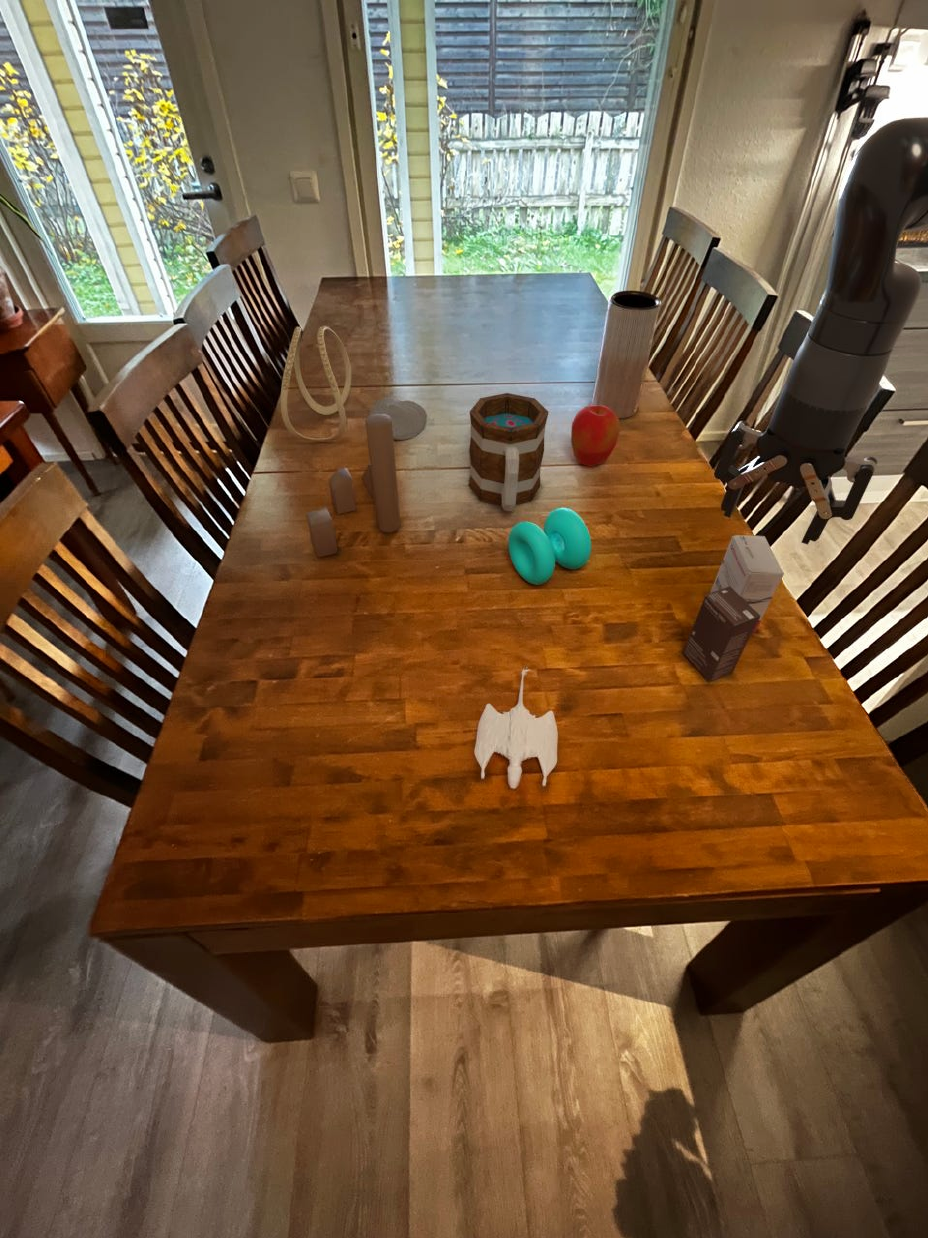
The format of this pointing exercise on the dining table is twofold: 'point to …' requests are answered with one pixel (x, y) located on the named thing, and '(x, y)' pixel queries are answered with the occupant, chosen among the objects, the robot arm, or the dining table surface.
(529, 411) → the mug
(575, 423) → the apple
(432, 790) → the dining table surface
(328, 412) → the beige looped band
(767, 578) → the ink box
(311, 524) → the wooden blocks
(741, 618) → the box
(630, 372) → the planter
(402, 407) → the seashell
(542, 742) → the white dragon
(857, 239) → the robot arm
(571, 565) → the turquoise yo-yo
